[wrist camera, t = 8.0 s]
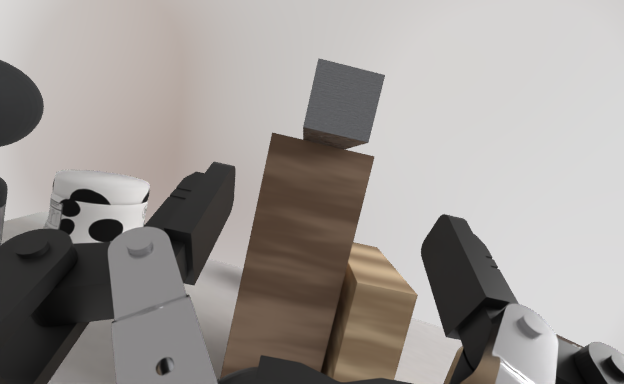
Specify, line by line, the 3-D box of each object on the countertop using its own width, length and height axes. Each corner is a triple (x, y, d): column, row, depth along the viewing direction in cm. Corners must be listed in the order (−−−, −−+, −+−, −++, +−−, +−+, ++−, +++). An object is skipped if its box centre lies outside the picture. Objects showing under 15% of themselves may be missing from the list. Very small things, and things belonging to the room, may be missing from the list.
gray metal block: (368, 142, 17) (384, 75, 16) (303, 126, 17) (318, 58, 16) (329, 153, 43) (335, 127, 42) (303, 147, 42) (309, 121, 42)
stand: (367, 475, 29) (451, 173, 26) (203, 447, 28) (270, 130, 25) (345, 368, 44) (397, 169, 41) (238, 348, 43) (282, 142, 40)
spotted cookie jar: (154, 255, 68) (167, 182, 66) (115, 288, 51) (131, 192, 49) (76, 242, 65) (87, 166, 63) (6, 273, 48) (19, 171, 46)
